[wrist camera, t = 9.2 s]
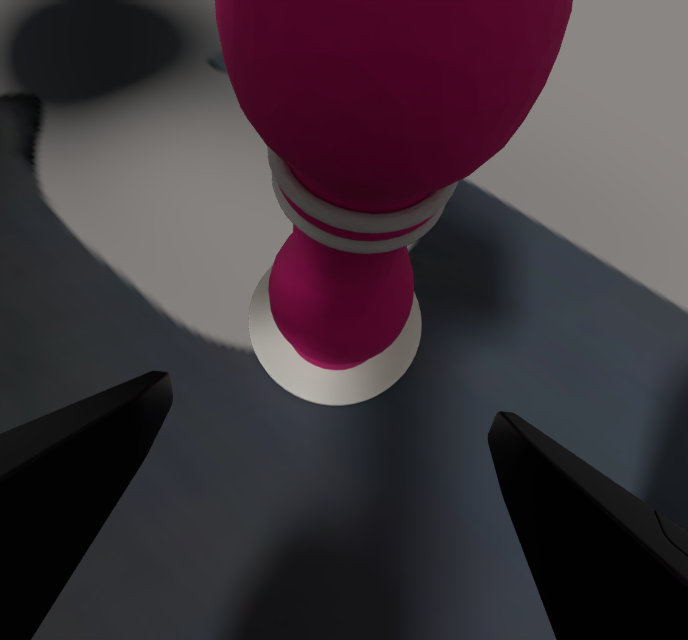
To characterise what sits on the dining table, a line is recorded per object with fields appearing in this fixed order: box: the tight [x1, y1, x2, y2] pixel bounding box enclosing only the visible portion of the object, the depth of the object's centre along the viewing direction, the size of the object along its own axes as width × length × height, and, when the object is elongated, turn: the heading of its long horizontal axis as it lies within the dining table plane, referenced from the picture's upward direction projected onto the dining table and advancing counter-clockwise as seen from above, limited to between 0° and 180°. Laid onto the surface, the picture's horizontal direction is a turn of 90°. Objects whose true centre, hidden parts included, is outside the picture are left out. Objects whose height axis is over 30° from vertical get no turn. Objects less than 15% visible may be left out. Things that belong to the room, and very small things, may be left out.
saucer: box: [249, 266, 422, 406], centre depth 22 cm, size 11×11×1 cm
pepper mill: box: [215, 0, 573, 370], centre depth 12 cm, size 7×7×20 cm
